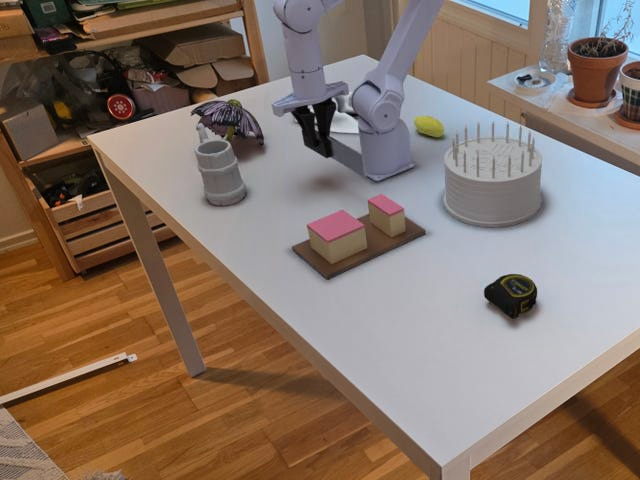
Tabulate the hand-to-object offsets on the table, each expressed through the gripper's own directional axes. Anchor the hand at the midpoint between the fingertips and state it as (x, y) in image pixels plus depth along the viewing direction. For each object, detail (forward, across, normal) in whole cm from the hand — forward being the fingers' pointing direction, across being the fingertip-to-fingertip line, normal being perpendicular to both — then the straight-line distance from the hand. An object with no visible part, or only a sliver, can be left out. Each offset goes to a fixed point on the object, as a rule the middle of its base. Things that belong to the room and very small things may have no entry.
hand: (318, 143), depth 120 cm
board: (+8, +7, +21) cm, 24 cm away
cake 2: (+9, -19, +26) cm, 34 cm away
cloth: (+9, -20, -26) cm, 34 cm away
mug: (+9, +16, -11) cm, 21 cm away
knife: (+1, 0, +5) cm, 6 cm away
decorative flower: (+9, +6, -26) cm, 28 cm away
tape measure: (+9, 0, +51) cm, 52 cm away
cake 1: (+8, +11, +21) cm, 25 cm away
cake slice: (+8, +1, +22) cm, 23 cm away
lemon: (+9, -29, -4) cm, 30 cm away
